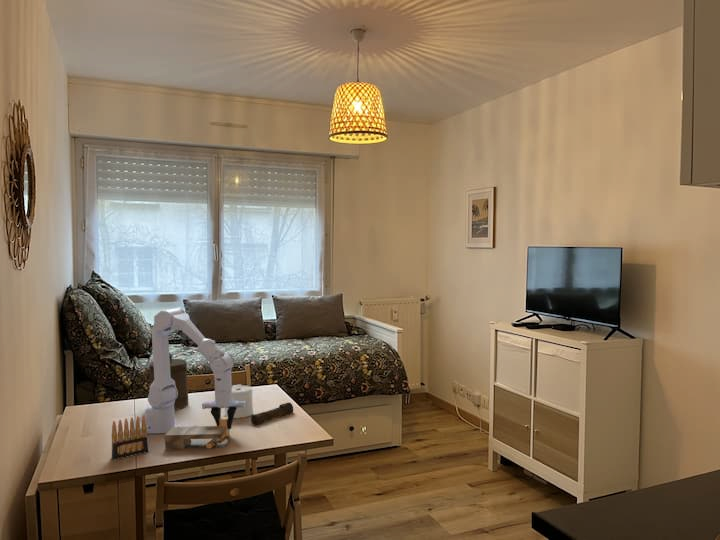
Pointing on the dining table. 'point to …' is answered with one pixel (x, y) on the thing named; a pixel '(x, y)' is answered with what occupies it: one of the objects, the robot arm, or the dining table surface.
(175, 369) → the wooden container
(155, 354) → the robot arm
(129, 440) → the ammunition clip
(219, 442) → the steel puck
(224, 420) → the light wooden mallet
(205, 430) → the walnut l-shaped block
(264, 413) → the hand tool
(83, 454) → the dining table surface
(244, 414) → the toilet tissue
